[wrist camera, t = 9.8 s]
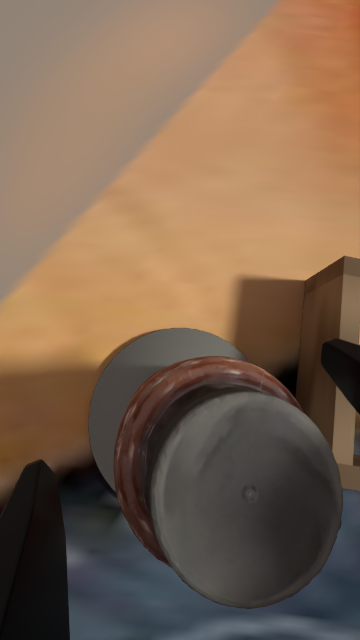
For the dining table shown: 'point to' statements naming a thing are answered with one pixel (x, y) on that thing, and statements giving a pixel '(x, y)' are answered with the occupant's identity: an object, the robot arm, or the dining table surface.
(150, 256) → the dining table surface
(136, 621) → the dining table surface
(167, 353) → the rubber mat
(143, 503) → the supplement bottle
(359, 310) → the walnut box
